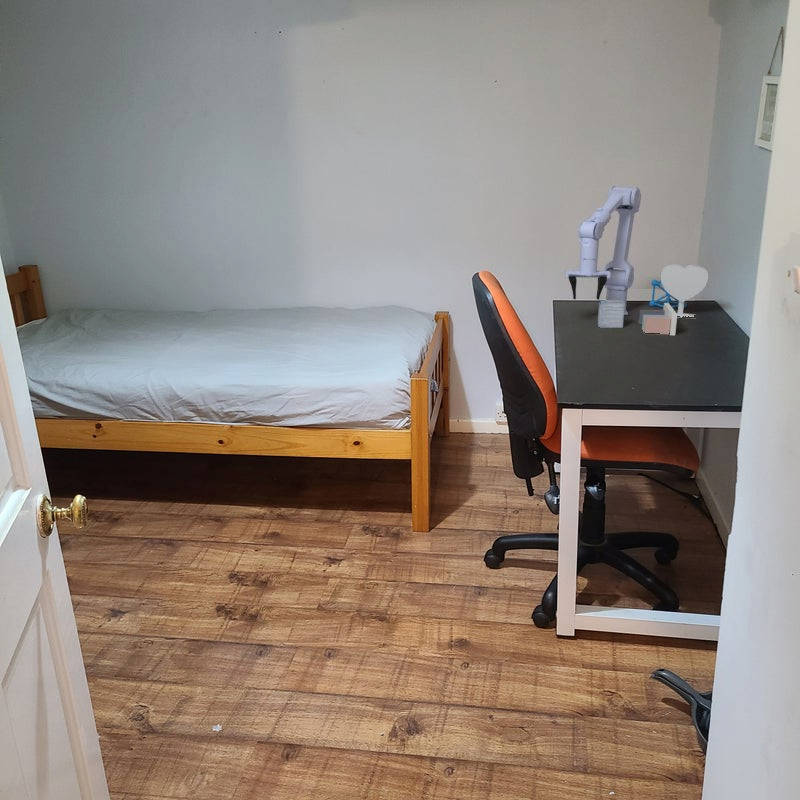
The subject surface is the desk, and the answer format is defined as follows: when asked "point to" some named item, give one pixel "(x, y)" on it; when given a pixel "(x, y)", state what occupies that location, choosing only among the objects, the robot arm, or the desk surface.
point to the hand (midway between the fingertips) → (586, 298)
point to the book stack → (659, 320)
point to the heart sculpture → (683, 283)
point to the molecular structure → (667, 300)
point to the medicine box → (611, 313)
